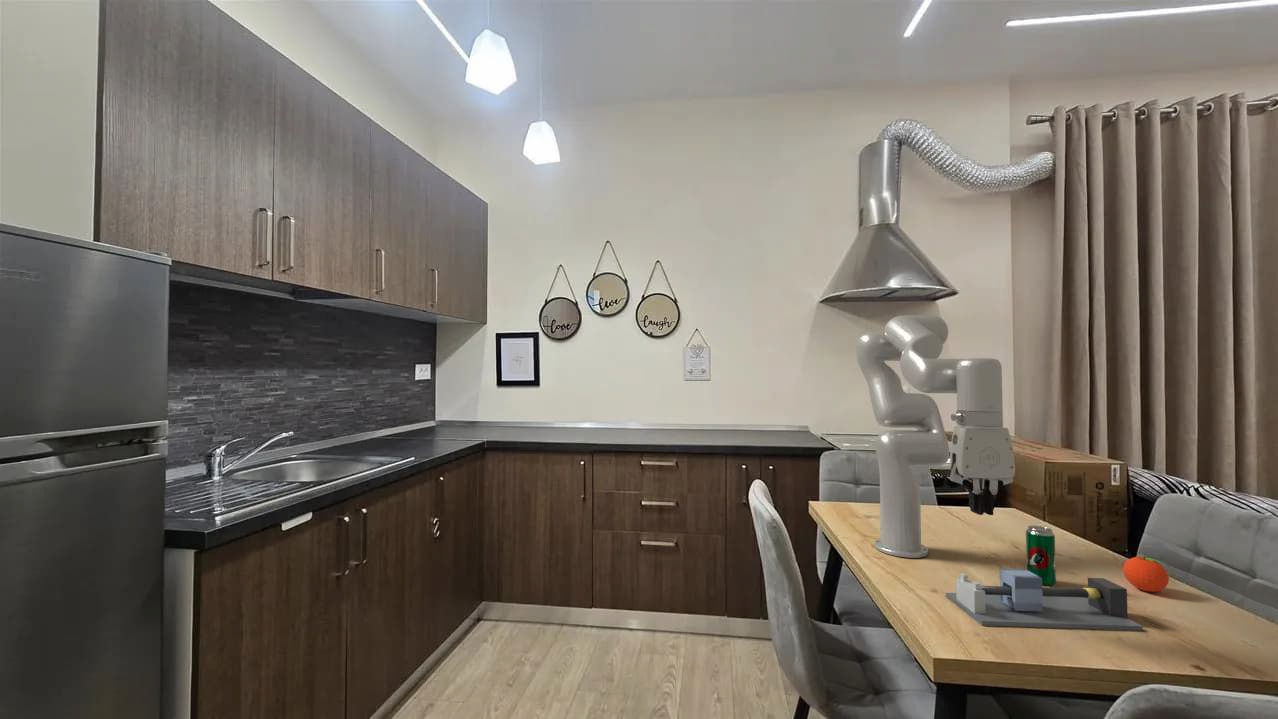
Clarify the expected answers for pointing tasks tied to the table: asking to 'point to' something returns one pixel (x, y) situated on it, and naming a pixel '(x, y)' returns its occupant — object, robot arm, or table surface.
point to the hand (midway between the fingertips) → (981, 512)
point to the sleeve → (1022, 589)
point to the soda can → (1041, 553)
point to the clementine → (1146, 574)
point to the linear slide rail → (1049, 606)
